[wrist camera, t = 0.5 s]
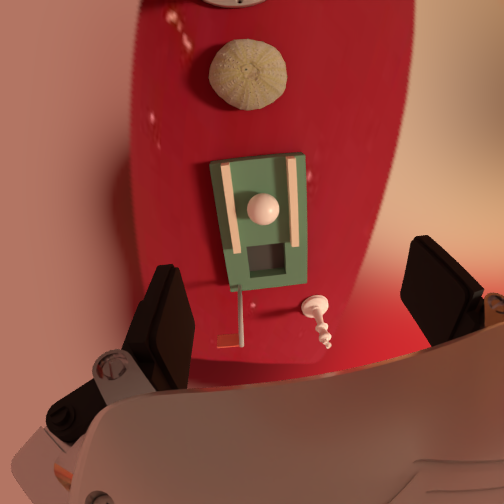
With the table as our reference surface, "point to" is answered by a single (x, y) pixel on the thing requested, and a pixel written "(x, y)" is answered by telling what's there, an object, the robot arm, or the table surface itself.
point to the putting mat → (261, 236)
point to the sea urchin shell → (248, 74)
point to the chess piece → (318, 316)
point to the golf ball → (263, 209)
